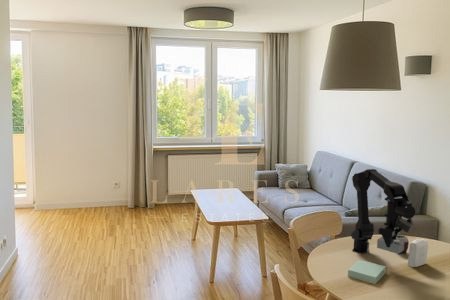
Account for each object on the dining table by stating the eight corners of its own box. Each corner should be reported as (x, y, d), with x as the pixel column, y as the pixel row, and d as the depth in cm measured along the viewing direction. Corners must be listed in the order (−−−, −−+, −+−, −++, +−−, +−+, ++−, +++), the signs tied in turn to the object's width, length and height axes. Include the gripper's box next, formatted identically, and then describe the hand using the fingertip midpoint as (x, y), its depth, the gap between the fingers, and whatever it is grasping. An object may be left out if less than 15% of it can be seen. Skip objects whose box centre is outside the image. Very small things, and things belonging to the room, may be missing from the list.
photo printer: (419, 260, 210) (421, 236, 208) (427, 263, 207) (430, 238, 205) (406, 265, 205) (408, 240, 203) (414, 268, 201) (417, 242, 199)
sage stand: (347, 276, 192) (348, 269, 191) (358, 265, 203) (359, 259, 202) (375, 284, 185) (375, 277, 184) (385, 272, 196) (385, 266, 195)
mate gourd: (406, 255, 216) (408, 226, 213) (389, 252, 220) (391, 223, 218) (408, 251, 222) (411, 222, 220) (392, 247, 226) (394, 219, 224)
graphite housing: (376, 247, 201) (377, 237, 200) (382, 244, 205) (383, 234, 204) (398, 253, 194) (399, 243, 193) (403, 250, 199) (404, 240, 198)
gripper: (405, 220, 185) (401, 256, 187) (418, 211, 199) (415, 244, 201) (378, 215, 192) (376, 249, 194) (393, 206, 206) (391, 238, 208)
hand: (390, 245), depth 199 cm, fingers closed on graphite housing, 6 cm apart
